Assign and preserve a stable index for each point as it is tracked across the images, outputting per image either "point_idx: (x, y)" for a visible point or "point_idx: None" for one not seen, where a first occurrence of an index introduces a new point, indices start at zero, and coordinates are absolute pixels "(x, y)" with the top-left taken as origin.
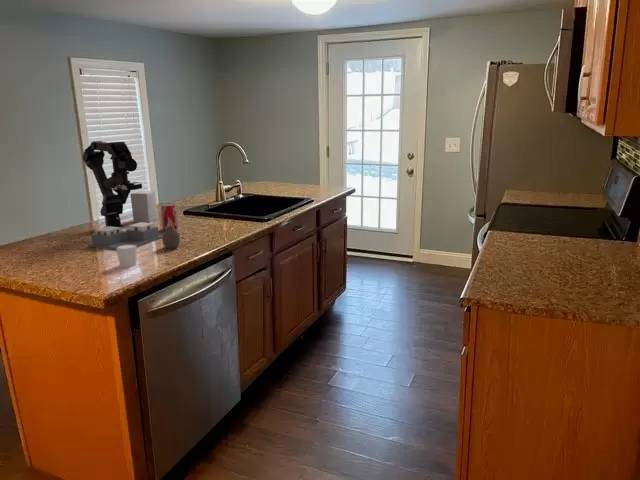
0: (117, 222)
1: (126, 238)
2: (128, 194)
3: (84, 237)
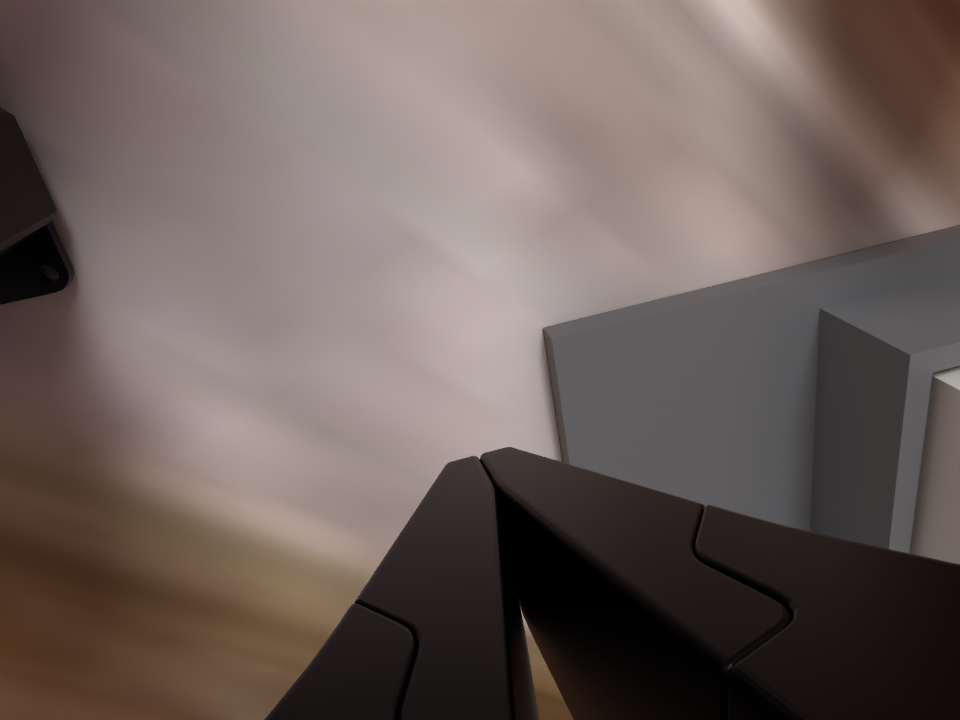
0: (17, 215)
1: (789, 514)
2: (830, 573)
3: (235, 688)
